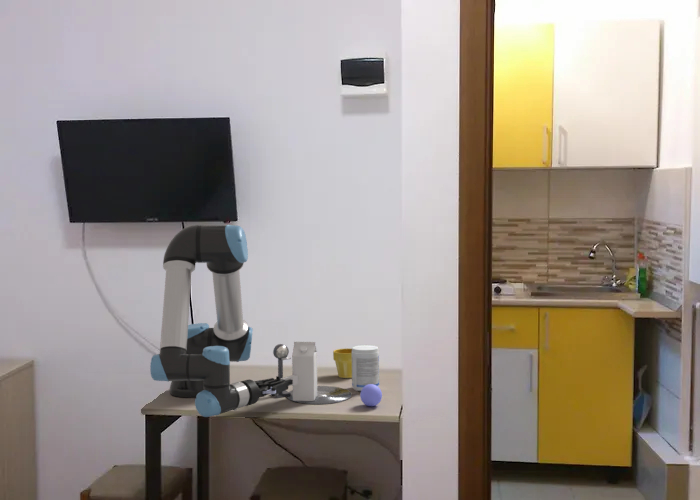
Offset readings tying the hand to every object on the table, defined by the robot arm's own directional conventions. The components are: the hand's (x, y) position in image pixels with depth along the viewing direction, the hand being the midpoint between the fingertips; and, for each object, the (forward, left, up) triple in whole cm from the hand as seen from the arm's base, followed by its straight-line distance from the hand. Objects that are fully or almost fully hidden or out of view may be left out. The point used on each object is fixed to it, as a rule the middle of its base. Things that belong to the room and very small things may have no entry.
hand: (296, 379), depth 235 cm
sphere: (+19, -15, -8) cm, 26 cm away
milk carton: (+4, +2, -8) cm, 9 cm away
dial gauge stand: (0, +12, -8) cm, 14 cm away
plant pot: (+33, +23, -8) cm, 41 cm away
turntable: (+11, +5, -8) cm, 14 cm away
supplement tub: (+29, +4, -8) cm, 30 cm away
